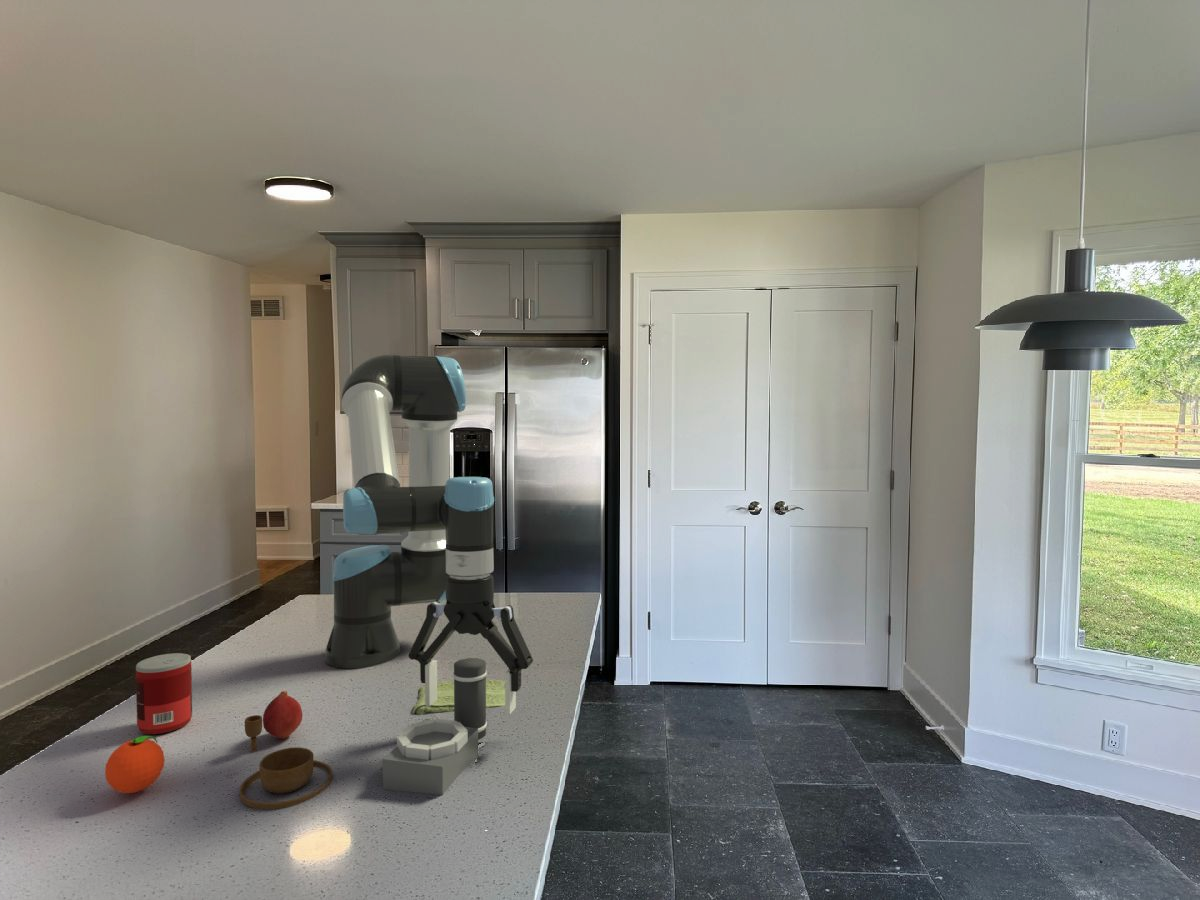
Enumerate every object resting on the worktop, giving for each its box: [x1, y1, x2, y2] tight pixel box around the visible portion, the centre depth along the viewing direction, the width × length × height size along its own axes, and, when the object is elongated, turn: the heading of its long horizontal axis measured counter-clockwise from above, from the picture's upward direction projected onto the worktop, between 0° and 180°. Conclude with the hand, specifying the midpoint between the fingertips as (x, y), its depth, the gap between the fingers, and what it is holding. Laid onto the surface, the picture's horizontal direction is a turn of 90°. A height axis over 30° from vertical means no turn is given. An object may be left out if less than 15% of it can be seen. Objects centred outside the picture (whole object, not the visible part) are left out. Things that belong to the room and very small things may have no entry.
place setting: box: [227, 714, 333, 811], centre depth 101 cm, size 18×20×6 cm
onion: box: [262, 689, 303, 740], centre depth 112 cm, size 6×6×8 cm
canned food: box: [135, 652, 193, 735], centre depth 117 cm, size 8×8×11 cm
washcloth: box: [411, 678, 505, 716], centre depth 126 cm, size 13×18×3 cm
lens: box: [452, 657, 488, 745], centre depth 111 cm, size 5×5×13 cm
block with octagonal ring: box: [382, 718, 479, 796], centre depth 101 cm, size 12×9×6 cm
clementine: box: [104, 735, 165, 794], centre depth 97 cm, size 8×7×7 cm
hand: (470, 706), depth 111 cm, fingers open, 13 cm apart
